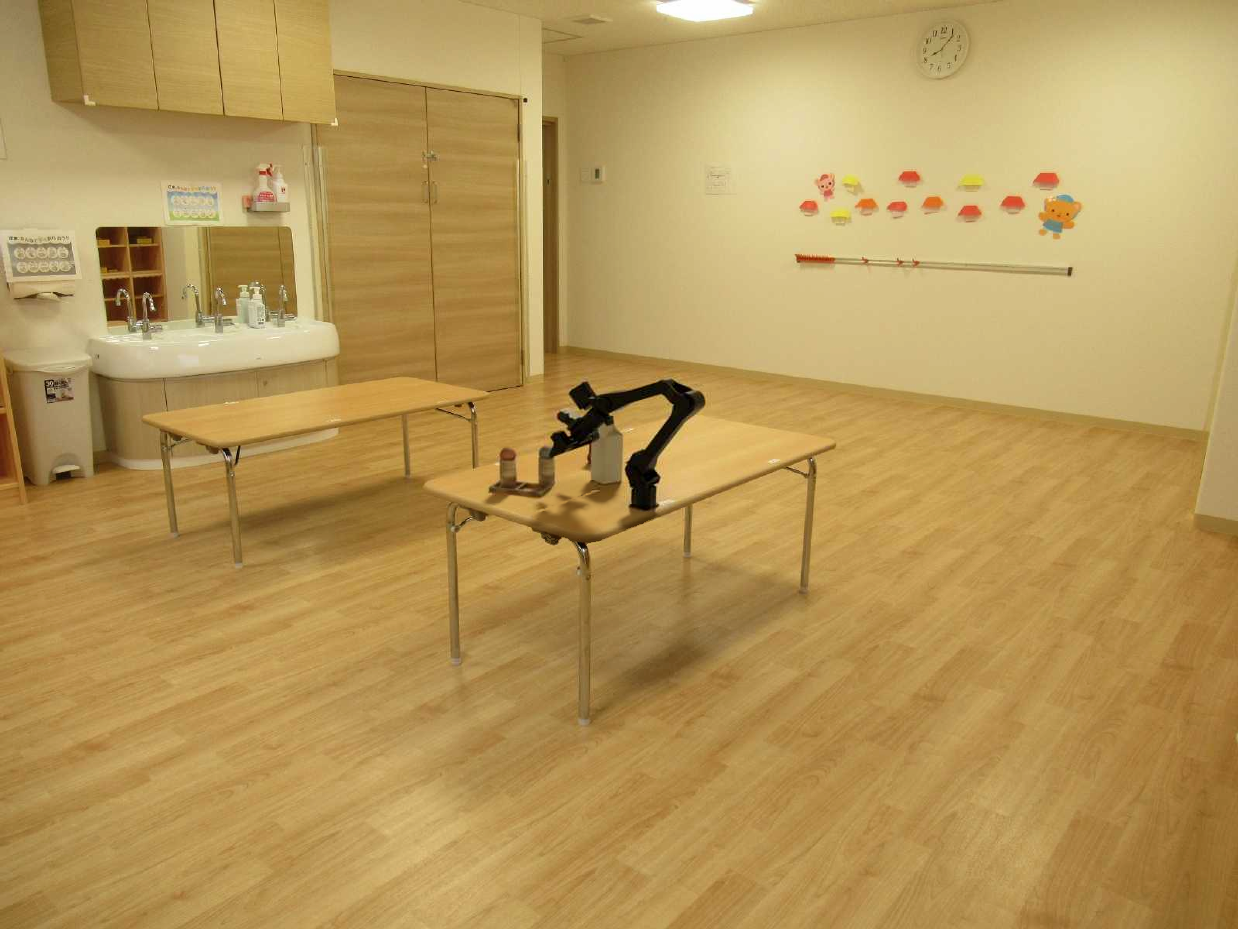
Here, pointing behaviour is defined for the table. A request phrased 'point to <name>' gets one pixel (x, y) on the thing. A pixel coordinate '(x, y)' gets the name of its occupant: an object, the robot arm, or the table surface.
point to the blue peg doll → (546, 467)
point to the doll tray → (523, 489)
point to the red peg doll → (508, 468)
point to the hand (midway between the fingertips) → (558, 453)
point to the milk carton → (607, 455)
